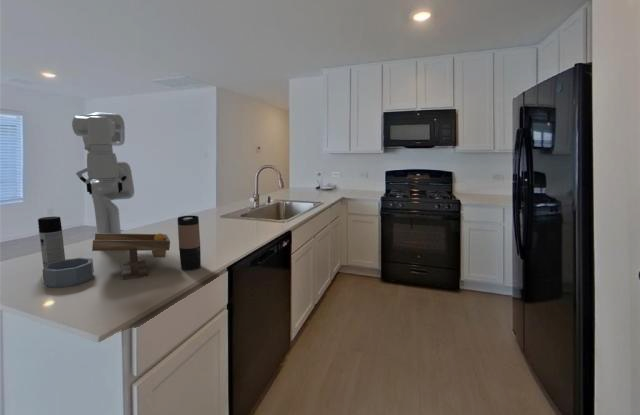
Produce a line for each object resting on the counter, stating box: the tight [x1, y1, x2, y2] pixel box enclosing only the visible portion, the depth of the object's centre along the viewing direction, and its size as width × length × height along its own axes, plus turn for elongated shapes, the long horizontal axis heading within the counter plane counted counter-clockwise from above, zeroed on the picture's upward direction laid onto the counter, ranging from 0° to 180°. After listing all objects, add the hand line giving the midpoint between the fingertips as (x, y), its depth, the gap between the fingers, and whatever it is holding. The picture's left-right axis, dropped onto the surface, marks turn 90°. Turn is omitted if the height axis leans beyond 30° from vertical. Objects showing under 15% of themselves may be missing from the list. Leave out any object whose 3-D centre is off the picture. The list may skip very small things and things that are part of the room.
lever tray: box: [91, 232, 171, 259], centre depth 125 cm, size 20×24×7 cm
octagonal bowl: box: [42, 257, 95, 289], centre depth 112 cm, size 13×13×6 cm
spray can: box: [37, 216, 66, 268], centre depth 122 cm, size 7×7×20 cm
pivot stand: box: [121, 248, 149, 281], centre depth 122 cm, size 18×8×10 cm, turn 31°
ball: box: [154, 232, 165, 240], centre depth 126 cm, size 4×4×4 cm
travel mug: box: [177, 215, 202, 271], centre depth 125 cm, size 8×8×20 cm
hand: (105, 193), depth 129 cm, fingers open, 9 cm apart
